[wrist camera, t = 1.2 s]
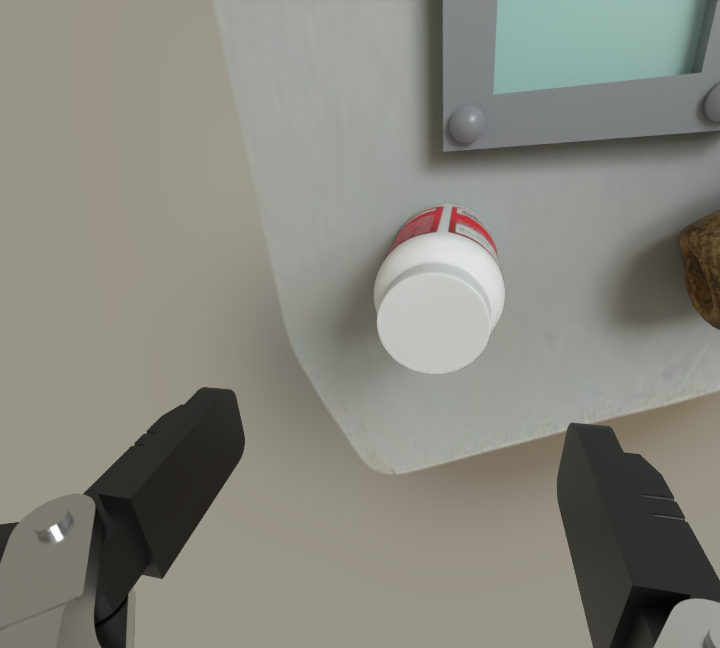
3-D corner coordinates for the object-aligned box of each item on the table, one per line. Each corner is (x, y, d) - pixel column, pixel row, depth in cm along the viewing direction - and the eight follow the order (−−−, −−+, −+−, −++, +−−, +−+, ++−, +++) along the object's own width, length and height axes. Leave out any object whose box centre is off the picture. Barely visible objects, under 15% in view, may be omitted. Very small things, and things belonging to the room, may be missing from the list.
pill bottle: (393, 289, 29) (355, 377, 19) (400, 197, 26) (360, 246, 16) (486, 300, 28) (496, 400, 18) (504, 206, 25) (527, 263, 15)
